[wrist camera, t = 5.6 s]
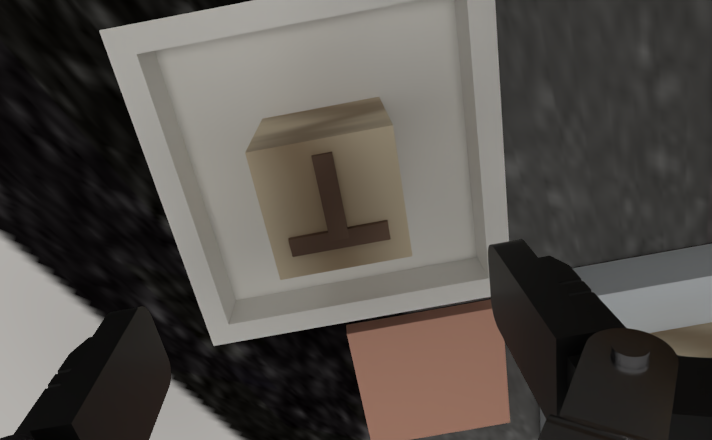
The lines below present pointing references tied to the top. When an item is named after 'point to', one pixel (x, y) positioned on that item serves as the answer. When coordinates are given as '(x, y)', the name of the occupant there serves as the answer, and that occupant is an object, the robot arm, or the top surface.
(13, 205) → the top surface
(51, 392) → the robot arm
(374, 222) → the letter cube
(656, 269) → the blue tray
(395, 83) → the white tray
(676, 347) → the plain cube
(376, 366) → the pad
